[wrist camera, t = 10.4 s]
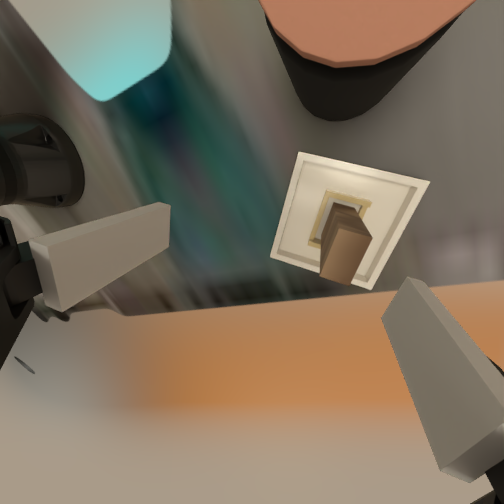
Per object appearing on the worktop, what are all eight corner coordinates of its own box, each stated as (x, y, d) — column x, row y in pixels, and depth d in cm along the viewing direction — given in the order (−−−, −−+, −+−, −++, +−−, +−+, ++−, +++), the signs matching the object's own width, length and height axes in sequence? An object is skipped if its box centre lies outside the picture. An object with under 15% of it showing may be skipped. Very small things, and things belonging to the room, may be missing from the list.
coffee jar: (398, 111, 24) (551, 14, 8) (296, 130, 27) (256, 90, 11) (410, -25, 20) (756, -767, 4) (290, 16, 23) (217, -291, 7)
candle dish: (273, 250, 34) (269, 257, 31) (300, 151, 28) (298, 151, 25) (367, 280, 31) (371, 290, 29) (421, 179, 25) (430, 181, 23)
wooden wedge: (321, 234, 30) (319, 276, 20) (333, 201, 28) (338, 228, 18) (340, 240, 30) (349, 286, 19) (354, 207, 28) (372, 237, 17)
